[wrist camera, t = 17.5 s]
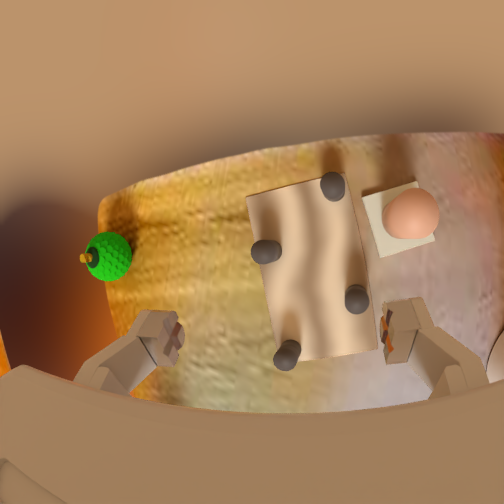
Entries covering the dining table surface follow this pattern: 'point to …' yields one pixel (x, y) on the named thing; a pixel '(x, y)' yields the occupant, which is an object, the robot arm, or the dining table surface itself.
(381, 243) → the mat
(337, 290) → the post board
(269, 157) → the dining table surface
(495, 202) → the dining table surface
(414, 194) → the tan cylinder block
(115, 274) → the ornament
